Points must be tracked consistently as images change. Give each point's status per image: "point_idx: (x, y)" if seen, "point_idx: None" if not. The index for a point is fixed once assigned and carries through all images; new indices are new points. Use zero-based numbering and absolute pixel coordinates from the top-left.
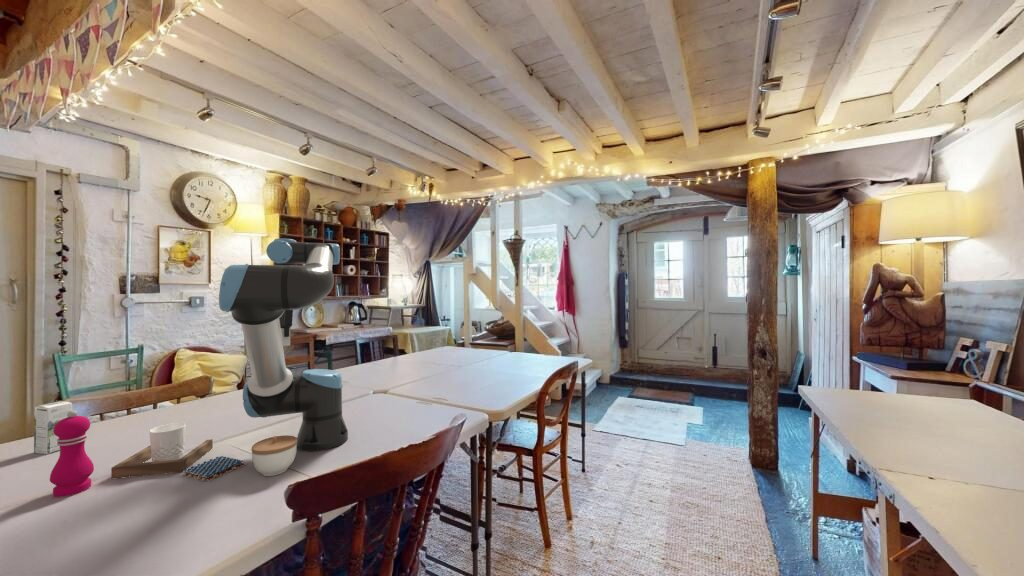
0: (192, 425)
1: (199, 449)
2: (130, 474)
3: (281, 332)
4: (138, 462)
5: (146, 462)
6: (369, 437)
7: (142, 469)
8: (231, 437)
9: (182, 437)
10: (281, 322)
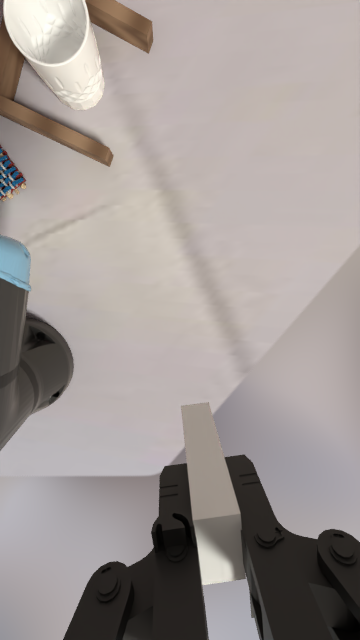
0: (332, 118)
1: (49, 133)
2: None
3: (206, 477)
4: None
5: None
6: None
7: None
8: (167, 204)
9: (44, 77)
10: (262, 599)
